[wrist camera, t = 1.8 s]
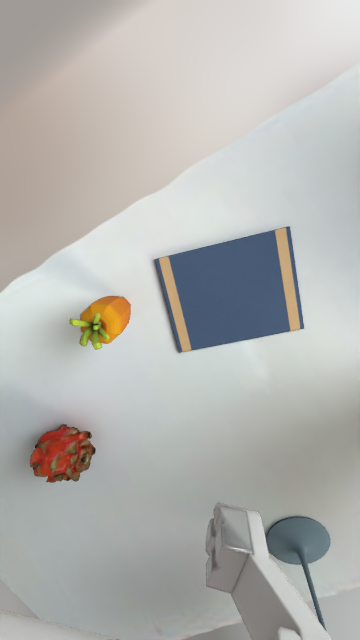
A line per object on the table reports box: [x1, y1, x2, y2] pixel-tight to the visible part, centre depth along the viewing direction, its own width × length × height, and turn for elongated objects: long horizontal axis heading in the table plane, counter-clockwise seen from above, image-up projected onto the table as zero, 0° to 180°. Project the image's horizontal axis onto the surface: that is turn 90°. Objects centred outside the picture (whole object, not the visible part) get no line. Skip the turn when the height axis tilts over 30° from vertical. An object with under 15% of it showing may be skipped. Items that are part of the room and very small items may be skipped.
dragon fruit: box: [30, 424, 96, 483], centre depth 48 cm, size 8×8×12 cm
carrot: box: [70, 296, 131, 350], centre depth 37 cm, size 5×5×15 cm
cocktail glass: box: [267, 517, 330, 631], centre depth 42 cm, size 18×18×25 cm
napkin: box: [155, 227, 304, 353], centre depth 42 cm, size 18×14×1 cm
